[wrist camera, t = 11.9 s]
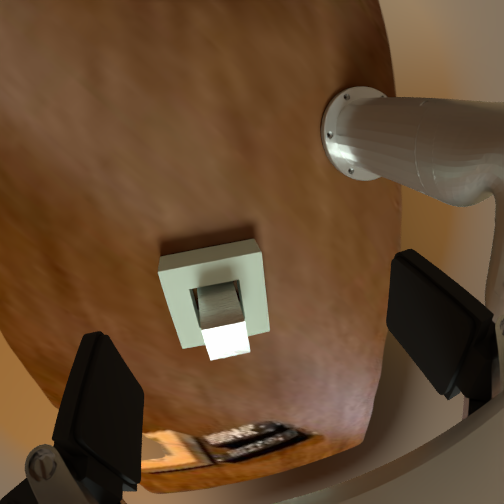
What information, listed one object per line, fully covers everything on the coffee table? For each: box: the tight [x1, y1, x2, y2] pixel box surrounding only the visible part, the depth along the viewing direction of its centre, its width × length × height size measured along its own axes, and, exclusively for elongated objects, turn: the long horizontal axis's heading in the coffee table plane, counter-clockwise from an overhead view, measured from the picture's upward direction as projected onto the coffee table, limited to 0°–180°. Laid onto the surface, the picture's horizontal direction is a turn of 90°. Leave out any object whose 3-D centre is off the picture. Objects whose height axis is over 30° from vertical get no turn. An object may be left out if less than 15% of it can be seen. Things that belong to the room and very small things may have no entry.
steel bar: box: [197, 281, 250, 360], centre depth 35 cm, size 4×4×11 cm
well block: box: [158, 239, 270, 349], centre depth 38 cm, size 12×12×4 cm
